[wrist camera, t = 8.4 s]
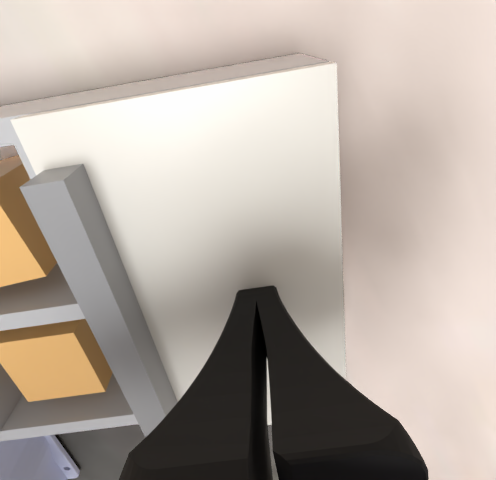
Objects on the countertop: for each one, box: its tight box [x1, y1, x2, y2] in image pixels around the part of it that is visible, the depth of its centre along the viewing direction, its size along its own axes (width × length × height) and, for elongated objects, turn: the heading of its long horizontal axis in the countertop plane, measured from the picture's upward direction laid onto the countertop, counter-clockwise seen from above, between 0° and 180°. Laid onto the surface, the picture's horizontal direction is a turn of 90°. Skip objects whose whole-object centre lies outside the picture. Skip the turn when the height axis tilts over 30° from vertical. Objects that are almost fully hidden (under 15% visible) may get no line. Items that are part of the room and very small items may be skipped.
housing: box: [0, 53, 329, 441], centre depth 17 cm, size 15×18×6 cm
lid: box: [10, 62, 346, 438], centre depth 13 cm, size 15×9×2 cm, turn 9°
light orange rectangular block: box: [0, 155, 57, 287], centre depth 16 cm, size 4×4×5 cm
